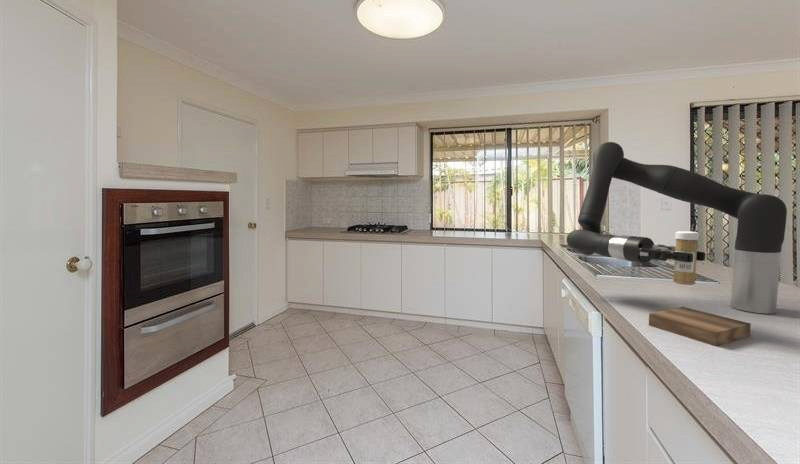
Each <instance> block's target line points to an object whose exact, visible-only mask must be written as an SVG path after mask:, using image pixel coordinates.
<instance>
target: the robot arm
mask: <svg viewBox="0 0 800 464" xmlns="http://www.w3.org/2000/svg"><path fill="white" fill-rule="evenodd" d="M589 179H590V180H589V184H588V187H587V191H586V193H585V196H584V199H583V201H582V204H581V205H582V206H581V207H580V211H579V215H578V217H577V218H578V219H577V223H578V224H579V225H580V226H581V229H574V230H572V231H570V232H569V233H568V234H567V236H566V244H567V246H568V247H569V248H570V249H573V250H574V251H576V252H578V253H580V254H582V255H584V256H591V255H594V254H596V255H599V256H602V257H607V258H613V259H617V260H621V261H626V262H630V263H638V264H647V263H649V262H650V261H655V260H656V261H662V262H665V261H670V262H674V260H676V261H683V262H693V254H692V253H684V252H675V250H676V246H674V245H666V244H659V243H658V244H655V243H654V241H653V240H652V239H651V238H650V237H645V236H636V235H635V236H634V235H625V234H624V235H617V234H605V233H601V232H602V229H601V223H602V219H603V217H604V213H605V210H606V207H607V201H608V196H609V191H610V186H611V182H612V179H617V180H619V181H620V180H621V181H624V182H629V183H632V184H634V185H636V186H639V187H642V188H645V189H648V190H651V191H653V192H656V193H658V194H661V195H664V196H666V197H669V198H673V199H675V200H678V201H682V202H685V203H690V204H694V205H697V206H701V207H706V208H710V209H714V210H716V211H719V212H721V213H723V214H726V215H728V216H730V217H732V218H735V219H737V227H736V228H737V229H736V236H735V241H734V253H733V254H734V255H733V267H732V283H731V292H730V293H731V296H730V307H732V308H733V309H737V310H739V311H745V312H748V313H753V314H754V313H755V314H766V315H772V314H776V313H777V305H778V304H777V303H778V297H779V296H778V295H779V294H778V293H779V284H780V283H779V281H780V271H781V270H780V269H781V257H782V248H783V244H784V241H785V234H786V225H787V214H788V211H787V205H786V204H785V202H784V201H783V200H782V199H781V198H780V197H777V196H775V195H772V194H765V193H764V194H763V193H762V194H761V193H755V192H750V191H745V190H743V189H742V190H741V189H738V188H733V187H730V186H727V185H724V184H722V183H720V182H717V180H716V181H715V180H713V179H712V178H708V177H706V176H704V175H702V174H701V173H697V172H694V171H691V170H688V169H686V168H683V167H678V166H675V165H669V164H647V163H642V162H641V163H640V162H636V161H633V160H631V159H628V158H627V157H625V153H624V150H623V147H622V146H621V145H620V144H619V143H617V142H614V141H607V142H604V143H601V144H600V145H599V146H597V148H595V150H594V152H593V155H592V171H591V175H590V178H589ZM706 256H707V254H706V252H704V251H698V250H697V257H696V260H697V261H698V262H699V261H700V262H704V261H706Z"/></svg>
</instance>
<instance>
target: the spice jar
mask: <svg viewBox="0 0 800 464" xmlns="http://www.w3.org/2000/svg"><path fill="white" fill-rule="evenodd" d="M699 237H700V235H699V232H698V231H691V230H687V231H686V230H683V231H682V230H680V231H679V230H678V231H676V232H675V237H674V238H675V247H676V250H675V252H684V253H692V254H693V262H683V261H676V260H674V261H673V262H674V264H673V279H672V282H673V283H675V284H679V285H683V286H685V285H687V286H695V285H696V271H697V261H698V260H696V257H697V251H698V242H699Z"/></svg>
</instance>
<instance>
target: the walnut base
mask: <svg viewBox="0 0 800 464" xmlns="http://www.w3.org/2000/svg"><path fill="white" fill-rule="evenodd" d="M648 326H650V327H654V328H657V329H660V330H663V331H666V332H670V333H672V334H676V335H679V336H683V337H686V338H688V339H692V340H695V341H698V342H702V343H705V344H707V345H711V346H714V347H717V346H720V345H723V344H727V343H730V342H731V343H732V342H733V341H737V340H740V339H741V340H742V339H744V338H747V337H750V336H751V328H752V327H751V326H752V323H751V322H746V321H742V320H738V319H735V318H730V317H725V316H723V315H717V314H713V313H709V312H705V311H701V310H697V309H694V308H689V307H685V306H681V307H679V306H678V307H675V308H670V309H665V310H662V311H661V310H660V311H656V312H653V313H652V312H651V313H648Z"/></svg>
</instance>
